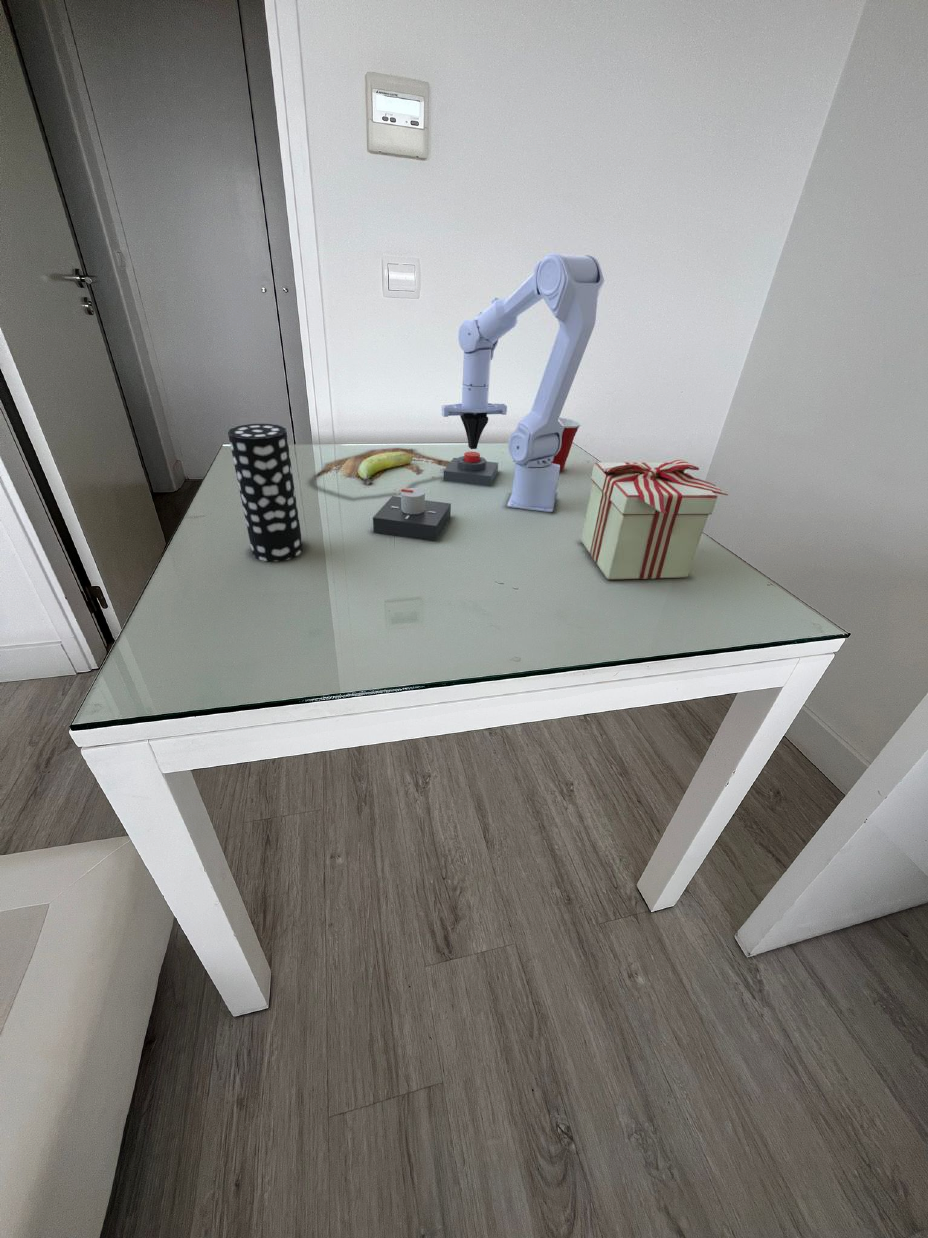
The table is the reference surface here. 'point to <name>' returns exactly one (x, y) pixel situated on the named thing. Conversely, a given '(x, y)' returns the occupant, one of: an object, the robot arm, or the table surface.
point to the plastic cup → (566, 441)
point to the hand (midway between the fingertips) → (472, 447)
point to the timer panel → (412, 520)
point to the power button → (472, 457)
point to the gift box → (646, 518)
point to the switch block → (471, 472)
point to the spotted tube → (267, 490)
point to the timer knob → (412, 501)
